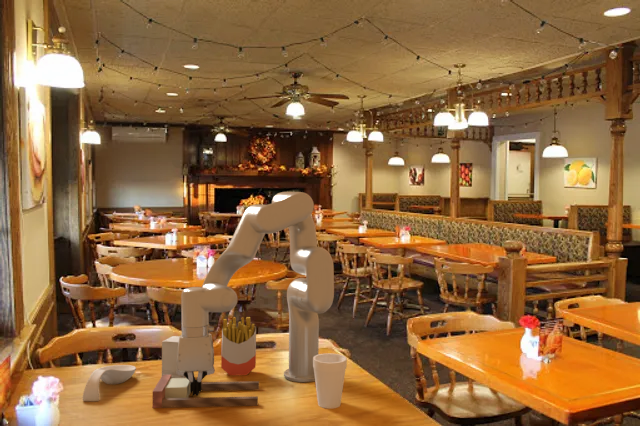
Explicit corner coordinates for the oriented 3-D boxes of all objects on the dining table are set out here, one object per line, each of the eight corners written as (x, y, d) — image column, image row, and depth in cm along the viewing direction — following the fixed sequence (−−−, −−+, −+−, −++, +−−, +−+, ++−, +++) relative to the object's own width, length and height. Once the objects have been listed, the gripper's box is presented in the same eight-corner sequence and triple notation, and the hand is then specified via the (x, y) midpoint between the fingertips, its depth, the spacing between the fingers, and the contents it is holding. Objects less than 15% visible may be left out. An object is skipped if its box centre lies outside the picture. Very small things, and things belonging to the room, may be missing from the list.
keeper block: (191, 391, 163) (191, 377, 163) (186, 401, 155) (186, 387, 155) (170, 391, 162) (170, 378, 162) (165, 401, 154) (165, 387, 154)
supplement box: (183, 383, 169) (183, 342, 169) (160, 381, 171) (161, 341, 171) (193, 375, 177) (193, 336, 176) (171, 373, 178) (172, 335, 178)
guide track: (259, 387, 166) (259, 373, 166) (257, 405, 152) (257, 389, 152) (162, 389, 164) (162, 374, 164) (152, 407, 150) (152, 391, 150)
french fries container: (255, 375, 177) (255, 320, 177) (221, 375, 177) (221, 320, 176) (255, 370, 182) (256, 316, 181) (222, 371, 181) (222, 317, 181)
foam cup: (335, 413, 147) (335, 365, 147) (306, 406, 152) (306, 359, 152) (352, 402, 155) (352, 356, 155) (324, 395, 160) (324, 351, 160)
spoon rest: (105, 374, 177) (105, 352, 177) (141, 375, 177) (141, 353, 177) (70, 402, 154) (70, 376, 154) (112, 403, 154) (112, 377, 153)
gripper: (222, 327, 161) (223, 388, 162) (171, 328, 160) (171, 390, 161) (220, 333, 154) (221, 398, 155) (166, 335, 153) (166, 400, 153)
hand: (195, 394), depth 158 cm, fingers closed
